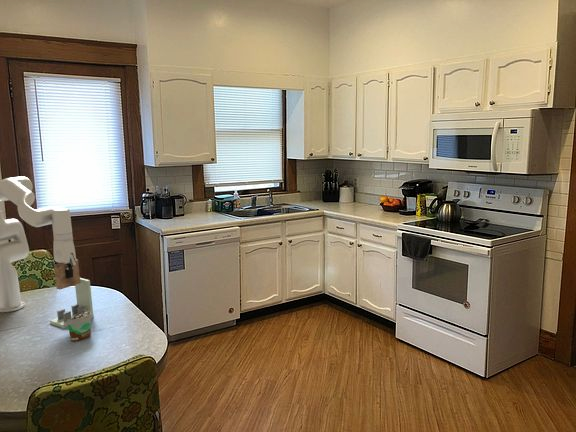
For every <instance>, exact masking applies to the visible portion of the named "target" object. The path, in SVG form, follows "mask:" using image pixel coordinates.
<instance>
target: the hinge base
mask: <svg viewBox="0 0 576 432" xmlns="http://www.w3.org/2000/svg"><path fill="white" fill-rule="evenodd" d="M74 287H75V289H74V290H75V296H76V304H73V305H71V310H68V311H66V309H65V308H62V309H59V310H56V313H57V317H55V318H53V319H50V320H49V323H50V324H51V325H53V326H55V327H59V328H61V329H66V328H68V325H67V319H68V320H70V319H72V318H73V317H75V316H76V315H78V314H80V313H82V312H83V311H84V309H87V310H89V311H90V312H91V315H92V318H95V316H94V309H93V299H92V288H91V280H90V279H86V278H82V277H80V283H79V284H76V285H74Z"/></svg>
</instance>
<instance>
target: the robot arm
mask: <svg viewBox="0 0 576 432" xmlns="http://www.w3.org/2000/svg"><path fill="white" fill-rule="evenodd" d="M33 188H34V187H33V182H32V181H31V180H30V178H28V177H26V176H22V175H21V176H14V177H6V178H4V179H3V178H2V180H0V202H6V201H10V202H12V203H13V204H14V205H16V206H17V213H18V215H19V217H20V218H21V219H22V221H24V222H25V223H26V224H28V225H29V226H31V227H34V228H40V227H44V226H48V225H52V233H53V234H52V235H53V245H52V246H53V248H52V249H53V261H55V262H56V263H57V264H58V263H63V264H65V265H66V270H65V273H66V278H67V279H68V278H71V277H73V266H74V265H76V263H75V261H76V259H77V256H76V248H75V244H74V237H73V227H72V226H73V225H72V218H71V211H70V209H68V208H67V207H58V206H54V205H53V206H48V207H41V208H37V209H34V208H32V207H31V206H32V205H33V204H34V202H35V198H36V196H35V193H34V192H33ZM7 240H10V241H9V242H4V241H7ZM0 242H4V243H1V244H0V313H10V312H15V311H18V310H21V309H23V308H25V306H26V303H25V301H22V300H21V299H22V298H21V290H20V283H19V275H18V270H17V268H16V267H15V266H14V265H13V264H12V263H14V262H17V261H20V260H23V259H25V258H27V257H28V256H29V253H30V247H29V244H28V239H27V236H26V233H25V228H24V225H23V224H22V222H21V221H19V219H16V218H7V219H5V217H4V214H3V211H2V209H0ZM69 261H70V262H69ZM68 264H69V265H68Z"/></svg>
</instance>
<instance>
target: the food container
mask: <svg viewBox="0 0 576 432" xmlns="http://www.w3.org/2000/svg"><path fill="white" fill-rule="evenodd" d="M92 318H93V317H92V315H91V312H90V311H89V310H87V309H84V311H83V312H82V313H80V314H78V315H76V316H75V317H73V318H72V319H70V320H68V319H67V325H68V327H67V328H68V332H69V333H68V334H69V339H70V342H71V343H75V342H81V341H85V340H87V339H89V338H90V337H91V335H92V334H91V319H92Z"/></svg>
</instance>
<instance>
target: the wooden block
mask: <svg viewBox="0 0 576 432" xmlns="http://www.w3.org/2000/svg"><path fill="white" fill-rule="evenodd" d="M69 262H70V261H69ZM75 263H76V265H74V266H73V277H71V278H68V279H67V278H66V273H65V270H66V265H65V264H63V263H58V262H57V263H54V264H53V268H54V277H55V278H54V279H55V285H56V286H55V287H56V289H57V290H65V288H70V287H74V286H75V285H76V284H79V283H80V278H81V275H80V266H79V259H77V258H76V261H75ZM68 265H69V264H68Z"/></svg>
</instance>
